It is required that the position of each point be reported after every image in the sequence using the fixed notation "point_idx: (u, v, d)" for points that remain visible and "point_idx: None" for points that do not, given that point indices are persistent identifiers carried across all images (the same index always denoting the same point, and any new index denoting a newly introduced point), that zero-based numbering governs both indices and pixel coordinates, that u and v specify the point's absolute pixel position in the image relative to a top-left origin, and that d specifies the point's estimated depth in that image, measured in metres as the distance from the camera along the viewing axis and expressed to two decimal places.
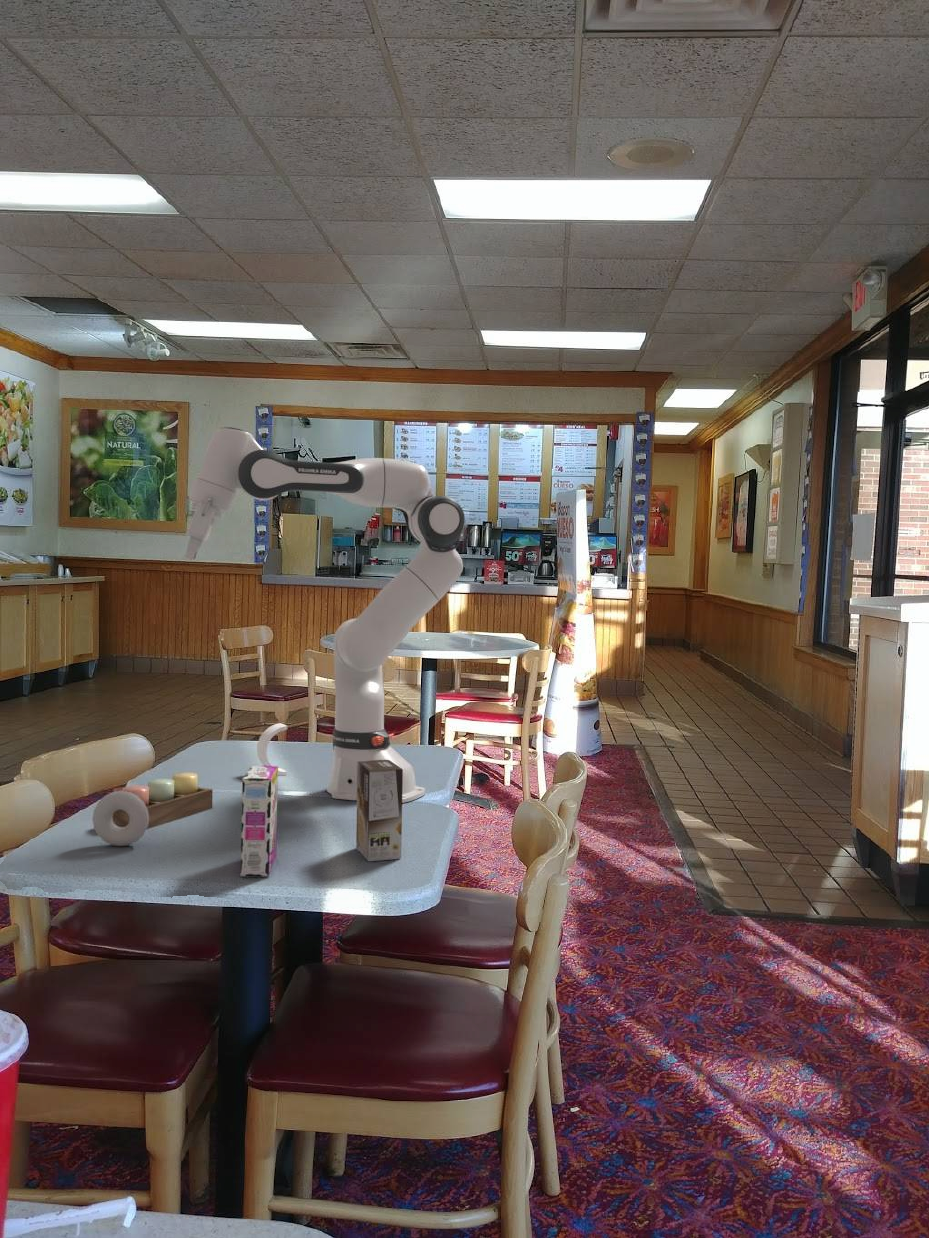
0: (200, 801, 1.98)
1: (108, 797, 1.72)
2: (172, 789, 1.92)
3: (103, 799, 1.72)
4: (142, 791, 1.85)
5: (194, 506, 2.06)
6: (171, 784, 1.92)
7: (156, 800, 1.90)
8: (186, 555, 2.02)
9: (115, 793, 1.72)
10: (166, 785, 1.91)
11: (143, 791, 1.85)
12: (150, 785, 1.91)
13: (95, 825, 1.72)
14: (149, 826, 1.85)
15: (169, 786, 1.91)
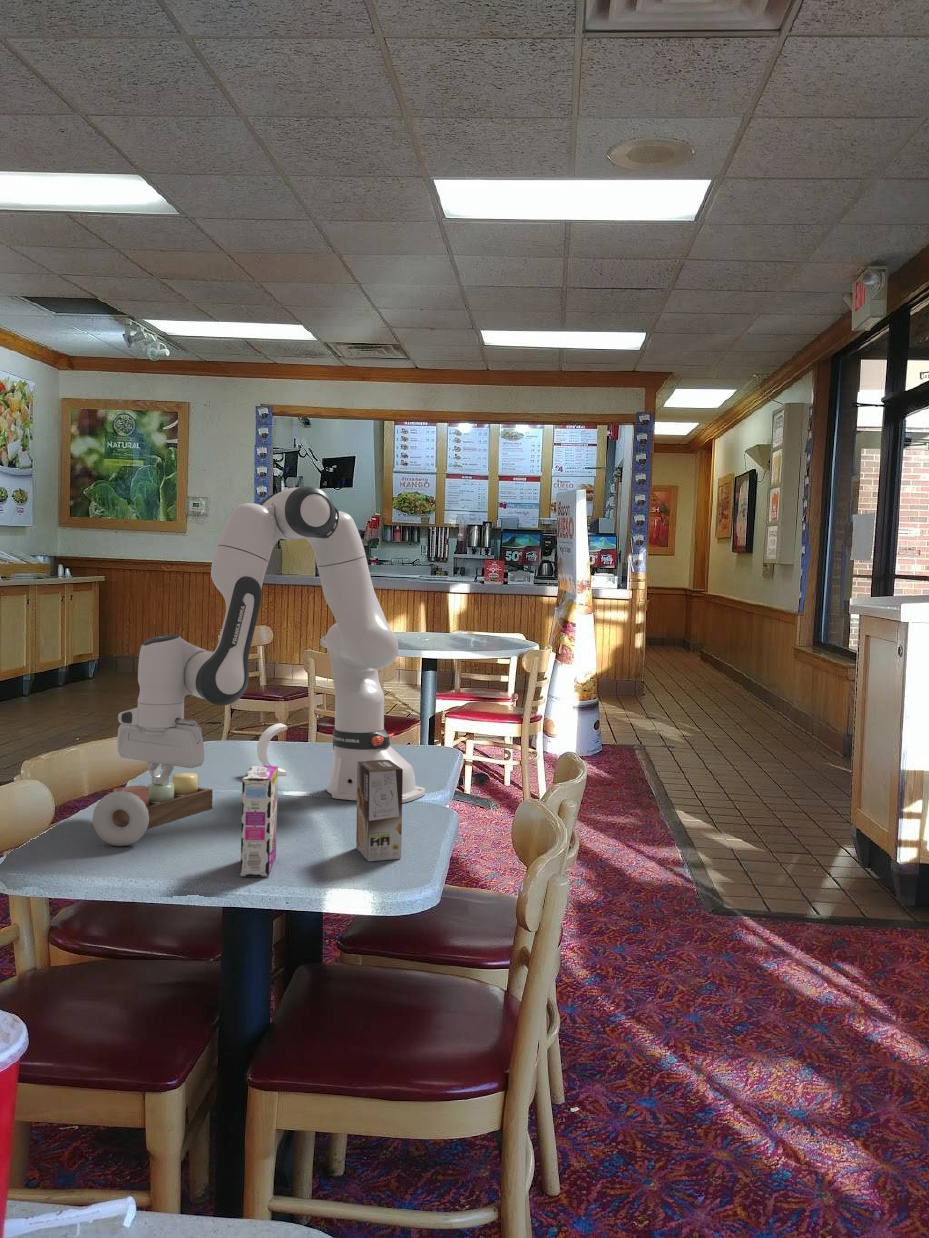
0: (200, 801, 1.98)
1: (108, 797, 1.72)
2: (172, 792, 1.92)
3: (103, 799, 1.72)
4: (142, 791, 1.85)
5: (157, 733, 1.89)
6: (171, 787, 1.92)
7: None
8: (163, 783, 1.91)
9: (115, 793, 1.72)
10: (166, 788, 1.91)
11: (143, 791, 1.85)
12: (150, 788, 1.91)
13: (95, 825, 1.72)
14: (149, 826, 1.85)
15: (169, 789, 1.91)
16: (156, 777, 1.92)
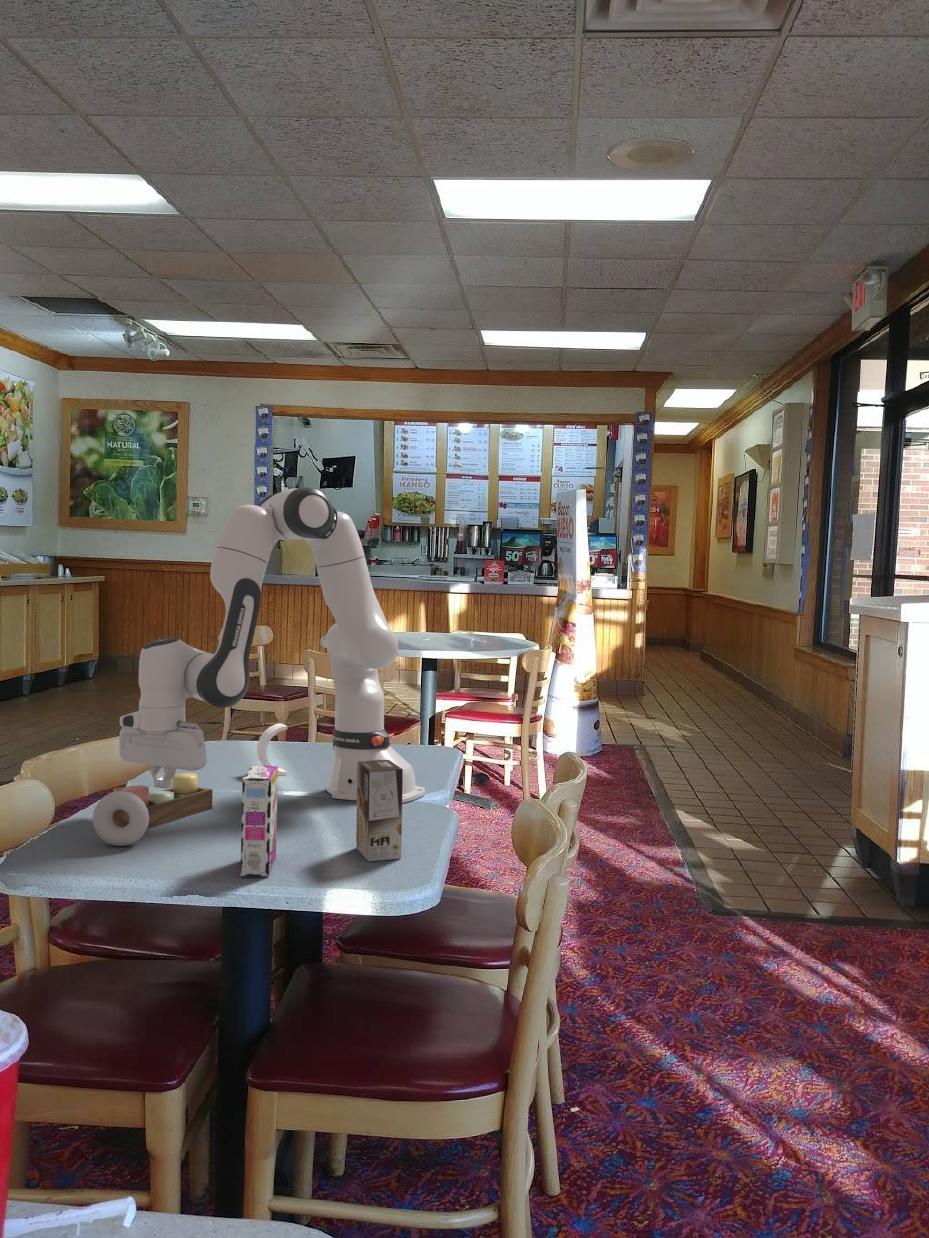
0: (200, 801, 1.98)
1: (108, 797, 1.72)
2: None
3: (103, 799, 1.72)
4: (142, 791, 1.85)
5: (158, 736, 1.89)
6: (171, 796, 1.92)
7: None
8: (166, 786, 1.92)
9: (115, 793, 1.72)
10: (166, 797, 1.91)
11: (143, 791, 1.85)
12: (150, 797, 1.91)
13: (95, 825, 1.72)
14: (149, 826, 1.85)
15: (169, 798, 1.92)
16: (158, 780, 1.92)
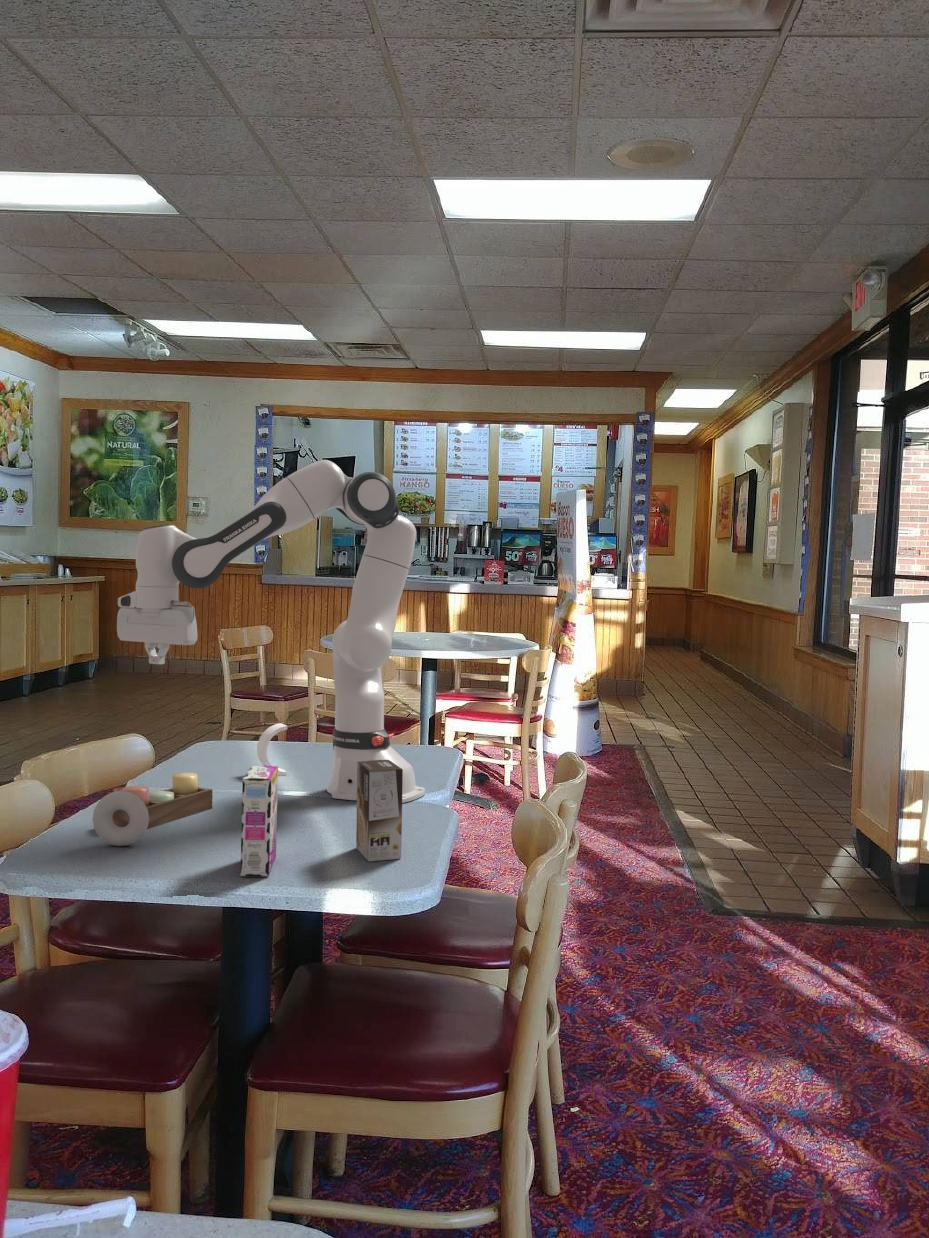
0: (200, 801, 1.98)
1: (108, 797, 1.72)
2: None
3: (103, 799, 1.72)
4: (142, 791, 1.85)
5: (153, 614, 2.04)
6: (171, 796, 1.92)
7: None
8: (159, 662, 2.07)
9: (115, 793, 1.72)
10: (166, 797, 1.91)
11: (143, 791, 1.85)
12: (150, 797, 1.91)
13: (95, 825, 1.72)
14: (149, 826, 1.85)
15: (169, 798, 1.92)
16: (153, 656, 2.07)
